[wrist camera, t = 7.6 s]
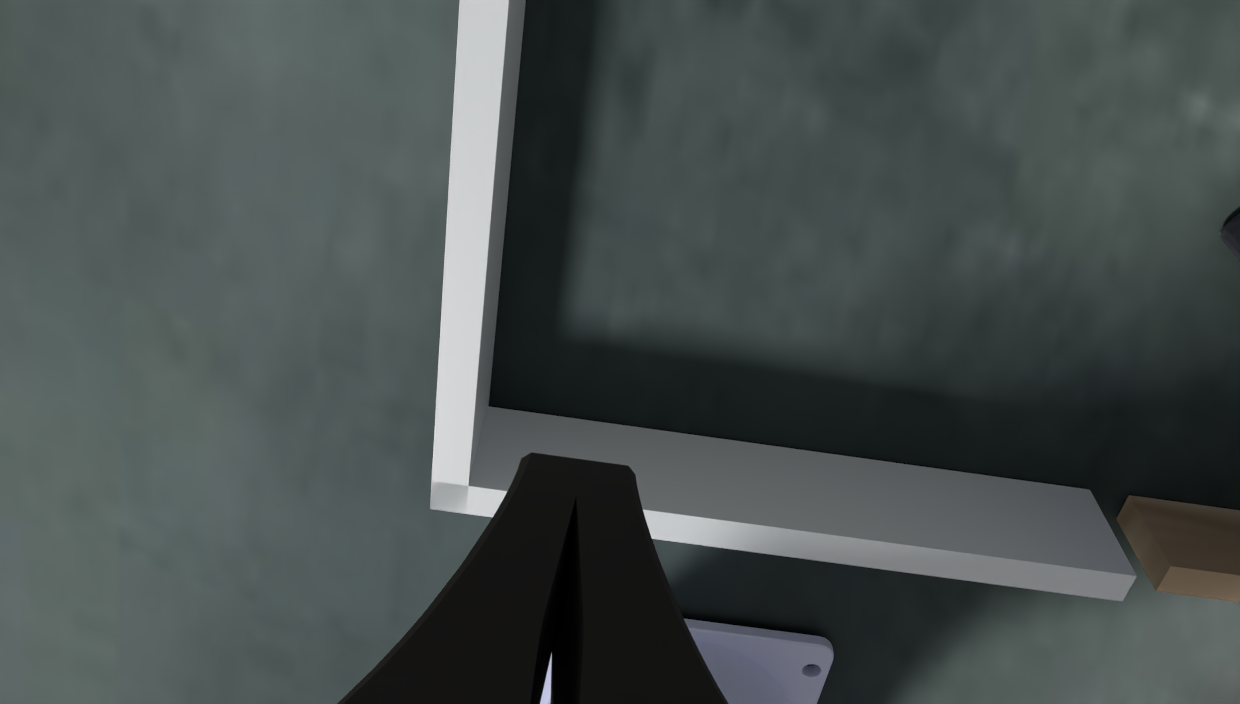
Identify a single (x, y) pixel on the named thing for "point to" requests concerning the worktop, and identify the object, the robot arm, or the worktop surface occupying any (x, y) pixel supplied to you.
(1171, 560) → the block
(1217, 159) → the worktop surface
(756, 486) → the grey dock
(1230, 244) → the small box
